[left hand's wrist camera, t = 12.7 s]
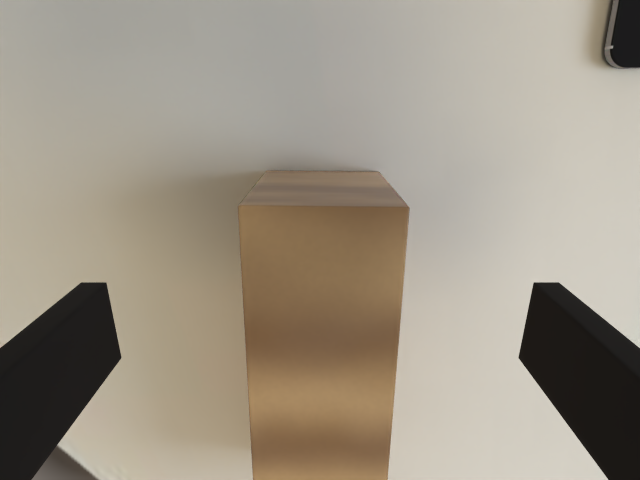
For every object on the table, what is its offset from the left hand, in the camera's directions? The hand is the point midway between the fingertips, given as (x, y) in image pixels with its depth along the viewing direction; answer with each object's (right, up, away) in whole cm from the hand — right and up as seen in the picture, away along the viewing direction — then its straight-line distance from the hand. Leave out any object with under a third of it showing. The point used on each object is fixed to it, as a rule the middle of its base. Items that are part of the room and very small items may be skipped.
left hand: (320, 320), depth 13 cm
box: (0, -4, +15) cm, 16 cm away
